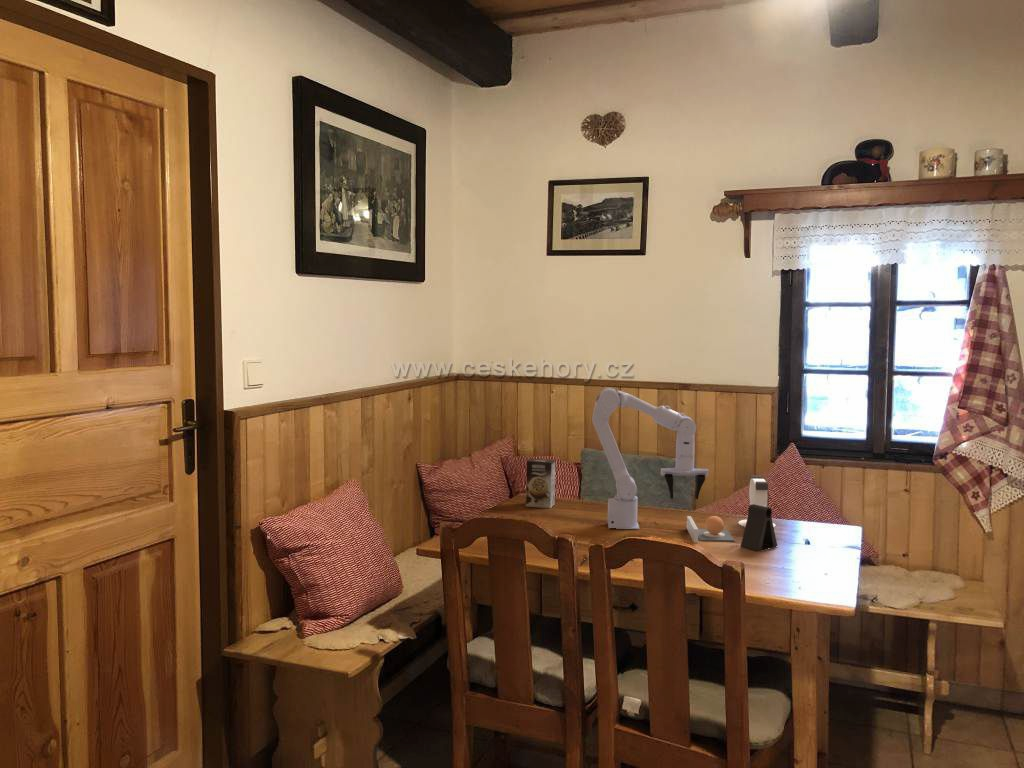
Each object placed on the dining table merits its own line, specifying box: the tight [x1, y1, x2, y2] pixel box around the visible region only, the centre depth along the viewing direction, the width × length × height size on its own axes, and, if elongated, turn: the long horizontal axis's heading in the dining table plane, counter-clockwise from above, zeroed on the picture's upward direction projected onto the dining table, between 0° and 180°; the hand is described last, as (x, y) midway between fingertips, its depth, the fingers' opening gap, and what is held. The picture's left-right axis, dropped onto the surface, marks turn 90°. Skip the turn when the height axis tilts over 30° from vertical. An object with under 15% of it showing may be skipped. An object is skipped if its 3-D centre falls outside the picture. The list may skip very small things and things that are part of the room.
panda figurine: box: [738, 475, 777, 528], centre depth 265 cm, size 12×11×15 cm
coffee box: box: [525, 457, 556, 509], centre depth 290 cm, size 9×6×16 cm
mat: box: [698, 528, 735, 543], centre depth 252 cm, size 10×12×1 cm
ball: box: [704, 515, 725, 534], centre depth 252 cm, size 6×6×6 cm
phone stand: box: [740, 504, 778, 553], centre depth 240 cm, size 9×6×12 cm, turn 125°
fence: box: [686, 515, 699, 544], centre depth 253 cm, size 1×16×4 cm, turn 176°
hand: (684, 498), depth 261 cm, fingers open, 7 cm apart
